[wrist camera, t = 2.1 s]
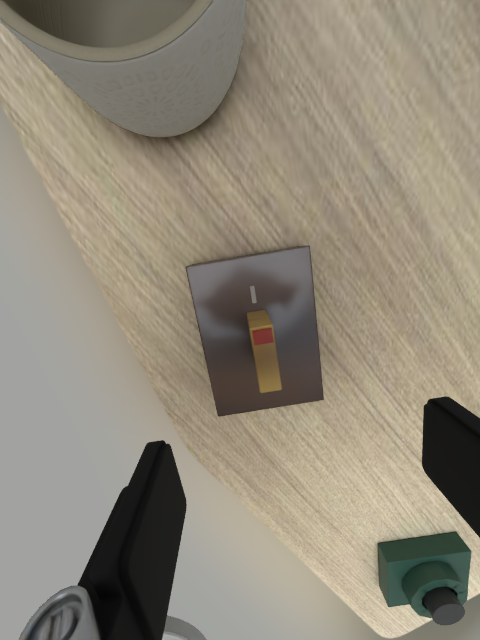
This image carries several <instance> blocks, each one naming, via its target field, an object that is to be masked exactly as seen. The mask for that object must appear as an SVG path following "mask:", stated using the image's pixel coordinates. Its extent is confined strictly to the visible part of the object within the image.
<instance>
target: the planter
mask: <svg viewBox="0 0 480 640" xmlns="http://www.w3.org/2000/svg"><path fill="white" fill-rule="evenodd" d="M246 5H247V0H0V22H1V23H2V24H3V25H4V26H5V27H6V28H7V29H8V30H9V31H10V32H11V33H13V34H14V35H15V36H16V37H17V38H18V39H19V40H20V41H21V42H22V43H23V44H24V45H25V46H26V47H28V48H29V49H30V50H31V51H32V52H33V53H34V54H35V55H36V56H37V57H38V58H39V59H40V60H41V61H42V62H43V63H44V64H45V65H46V66H47V67H48V68H49V69H51V70H52V71H53V72H54V73H55V74H56V75H57V76H58V77H59V78H60V79H61V80H62V81H63V82H64V83H65V84H66V85H67V86H68V87H69V88H70V89H72V90H73V91H74V92H75V93H76V94H77V95H78V96H79V97H80V98H82V99H83V100H84V101H85V102H86V103H87V104H88V105H89V106H91V107H92V108H93V109H94V110H95V111H97V112H98V113H99V114H101V115H102V116H104V117H105V118H107V119H108V120H110V121H111V122H113V123H115V124H116V125H118V126H120V127H122V128H124V129H126V130H129V131H131V132H134V133H137V134H141V135H145V136H151V137H171V136H176V135H180V134H183V133H186V132H188V131H190V130H192V129H194V128H196V127H197V126H199V125H200V124H202V123H203V122H204V121H205V120H207V119H208V118H209V117H210V116H211V115H212V114H213V112H214V111H215V110H216V109H217V108H218V106H219V105H220V103H221V102H222V100H223V99H224V97H225V95H226V93H227V91H228V89H229V87H230V85H231V83H232V81H233V78H234V75H235V72H236V69H237V65H238V61H239V57H240V53H241V48H242V43H243V36H244V26H245V16H246Z"/></svg>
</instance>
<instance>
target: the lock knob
mask: <svg viewBox="0 0 480 640" xmlns="http://www.w3.org/2000/svg"><path fill="white" fill-rule="evenodd" d="M247 320H248V326H249V332H250V338H251V344H252V350H253V356H254V362H255V368H256V374H257V379H258V384H259V390H260V393H265V392H271V391H277V390H281V389H282V386H281V379H280V372H279V364H278V357H277V350H276V343H275V335H274V328H273V324H272V322H271V320H270V318H269V316H268V314H267V313H266V311H265V310H260V311H254V312H248V313H247Z"/></svg>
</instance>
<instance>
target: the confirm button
mask: <svg viewBox="0 0 480 640" xmlns="http://www.w3.org/2000/svg"><path fill="white" fill-rule="evenodd" d="M422 600H423V602H424V604H425V606H426V607H427V609H428V611H429V613H430V615H431V617H432V619H433V620H434V621H435V623H437V624H440V625H450V624H454V623H456V622H458V621H459V620H460V619H462V617H463V616H464V614H465V610H464V608H463V606H462V604H461V603H460V601H459V600H458V598H457V597H456V595H455V594H454V592H453V590H452V589H451V588H450V587H446V586H444V587H437V588H434V589H432V590H430V591H428V592H427V593H426V594H425V595H424V596H423V598H422Z"/></svg>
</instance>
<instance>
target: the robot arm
mask: <svg viewBox="0 0 480 640" xmlns="http://www.w3.org/2000/svg"><path fill="white" fill-rule="evenodd" d="M422 466H423V469H424V471H425V473H426V474H427V476H428V477H429V478H430V479H431V480H432V482H433V483H434V484H435V485H436V486H437V488H438V489H439V490H440V491H441V492H442V494H443V495H444V496H445V497H446V498H447V499H448V501H449V502H450V503H451V504H452V505H453V507H454V508H455V509H456V510H457V511H458V512H459V514H460V515H461V516H462V517H463V518H464V520H465V521H466V522H467V523H468V524H469V525H470V527H471V528H472V529H473V530H474V531H475V533H476V534H477V535H478V536H479V537H480V418H479V417H477V416H476V415H474V414H473V413H471V412H470V411H468V410H467V409H466V408H464V407H463V406H461V405H460V404H458V403H457V402H456V401H454V400H453V399H451V398H449V397H440V398H434V399H429V400H428V402H427V404H425V405H424V418H423V449H422ZM185 513H186V498H185V494H184V491H183V487H182V484H181V480H180V477H179V473H178V470H177V467H176V463H175V459H174V456H173V452H172V449H171V446H170V445H169V444H166V443H165V441H163V440H162V441H156V442H149V443H147V445H146V446H145V449H144V451H143V453H142V455H141V458H140V460H139V462H138V464H137V467H136V469H135V471H134V473H133V476H132V478H131V480H130V482H129V485H128V486H127V487H125V488H123V490H122V491H121V493H120V495H119V497H118V499H117V501H116V503H115V506H114V508H113V510H112V512H111V514H110V516H109V518H108V521H107V523H106V525H105V527H104V529H103V531H102V534H101V536H100V538H99V540H98V542H97V545H96V546H95V549H94V551H93V553H92V555H91V557H90V559H89V562H88V564H87V566H86V568H85V570H84V572H83V574H82V577H81V579H80V581H79V583H78V585H77V586H70V587H67V588H65V589H62V590H60V591H59V592H57V593H56V594H54V595H53V596H52V597H50V598H49V599H48V600H47V601H46V602H45V603H44V604H43V605H42V606H40V607H39V609H38V610H37V611H36V612H35V614H34V615H33V616H32V618H31V619H30V620H29V622H28V623H27V625H26V627H25V628H24V630H23V632H22V633H21V635H20V638H19V640H162V638H163V633H164V628H165V622H166V617H167V611H168V605H169V600H170V595H171V590H172V584H173V579H174V573H175V568H176V562H177V557H178V551H179V546H180V541H181V535H182V530H183V524H184V519H185Z"/></svg>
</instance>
